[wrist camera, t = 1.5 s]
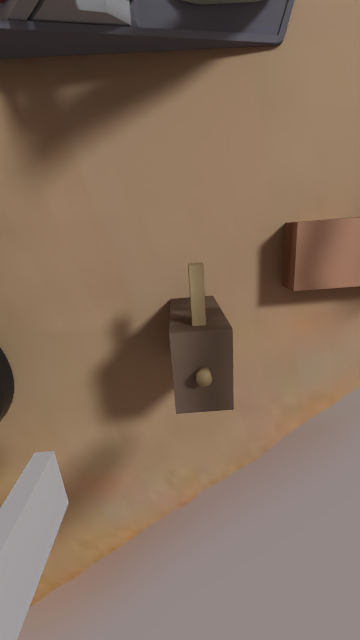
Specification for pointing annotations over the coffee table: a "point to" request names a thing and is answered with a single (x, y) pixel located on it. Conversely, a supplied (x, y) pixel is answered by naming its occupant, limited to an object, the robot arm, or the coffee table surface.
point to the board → (322, 254)
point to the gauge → (200, 350)
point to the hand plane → (137, 25)
